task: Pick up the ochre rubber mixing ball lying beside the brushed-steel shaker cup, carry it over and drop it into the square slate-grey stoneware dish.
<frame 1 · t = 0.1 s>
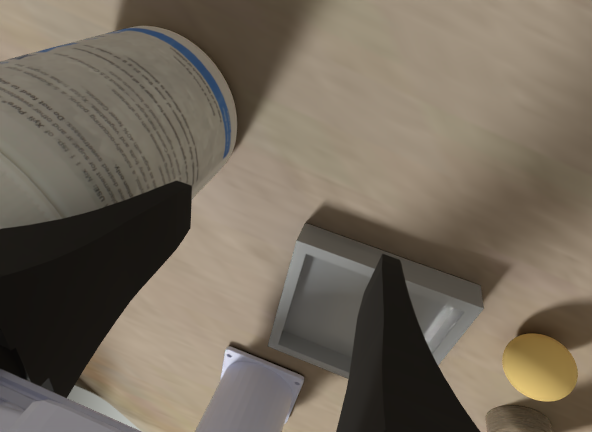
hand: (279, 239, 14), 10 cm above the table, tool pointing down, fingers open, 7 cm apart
ball: (538, 366, 24), point 2 cm above the table
dish: (362, 309, 29), on the table
supplement tub: (174, 107, 24), on the table
shaker cup: (517, 422, 31), on the table
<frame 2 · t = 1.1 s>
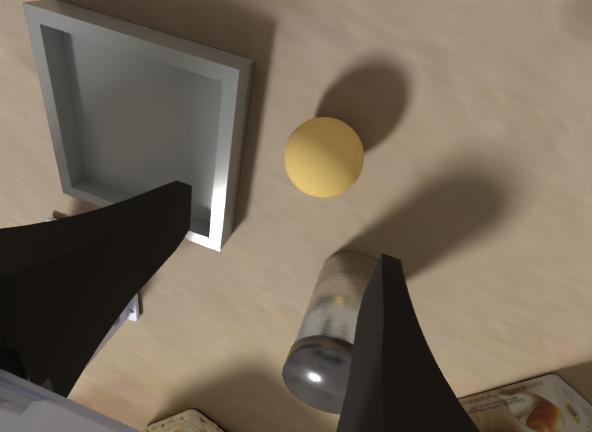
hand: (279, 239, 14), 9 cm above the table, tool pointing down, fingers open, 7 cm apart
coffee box: (518, 408, 28), on the table
ball: (323, 157, 19), point 2 cm above the table
dish: (154, 130, 24), on the table
shaker cup: (354, 278, 26), on the table
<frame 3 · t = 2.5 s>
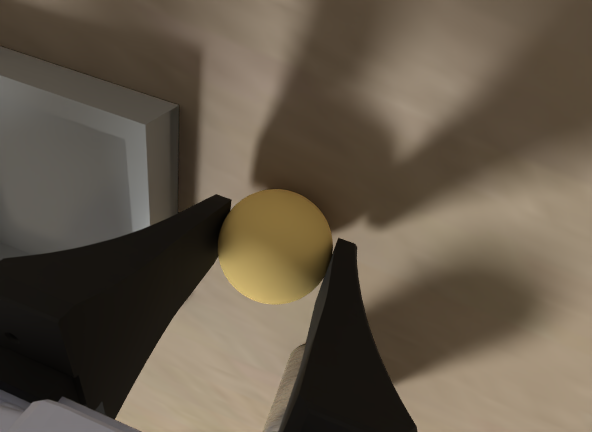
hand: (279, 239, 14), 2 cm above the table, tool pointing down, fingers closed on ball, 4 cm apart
ball: (275, 246, 13), point 2 cm above the table, touching gripper
dish: (63, 187, 18), on the table
shaker cup: (330, 372, 20), on the table
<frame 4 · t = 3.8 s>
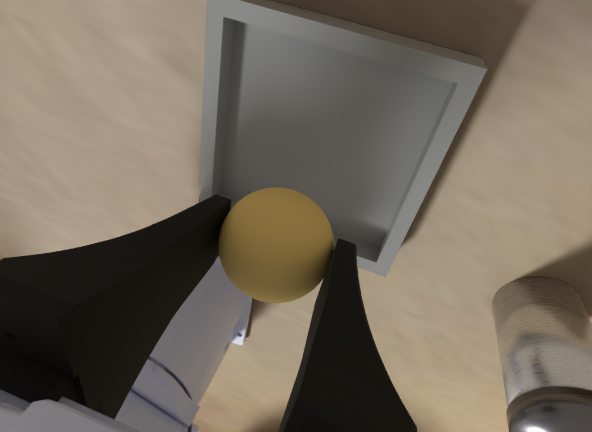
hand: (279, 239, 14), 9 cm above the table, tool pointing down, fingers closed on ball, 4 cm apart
ball: (276, 244, 13), point 9 cm above the table, touching gripper
dish: (319, 140, 21), on the table
shaker cup: (535, 306, 23), on the table
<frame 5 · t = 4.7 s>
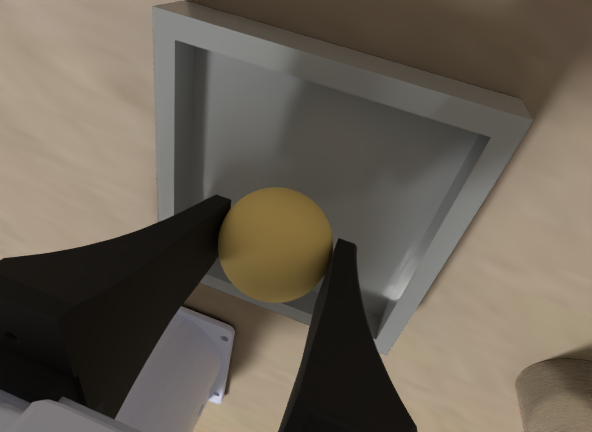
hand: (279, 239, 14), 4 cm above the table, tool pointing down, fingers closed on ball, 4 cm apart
ball: (276, 244, 13), point 4 cm above the table, touching gripper
dish: (306, 190, 17), on the table
shaker cup: (569, 389, 18), on the table
when the fingers open (3 cm above the table, at t = 5.1 s): ball drops 1 cm, resting on dish.
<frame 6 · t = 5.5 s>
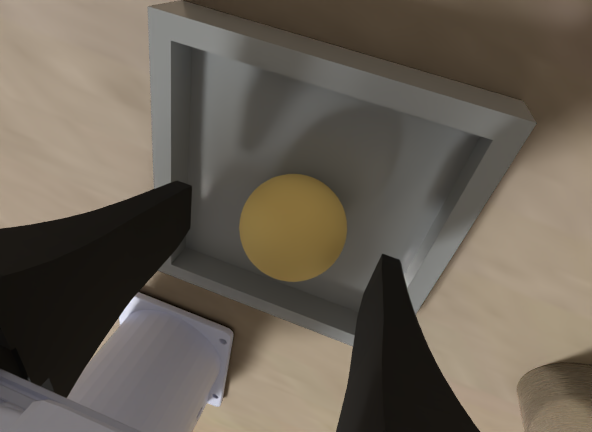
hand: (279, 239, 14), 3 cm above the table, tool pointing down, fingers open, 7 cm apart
ball: (293, 227, 14), point 3 cm above the table, tilted 8°, touching dish
dish: (305, 192, 16), on the table
shaker cup: (571, 394, 18), on the table
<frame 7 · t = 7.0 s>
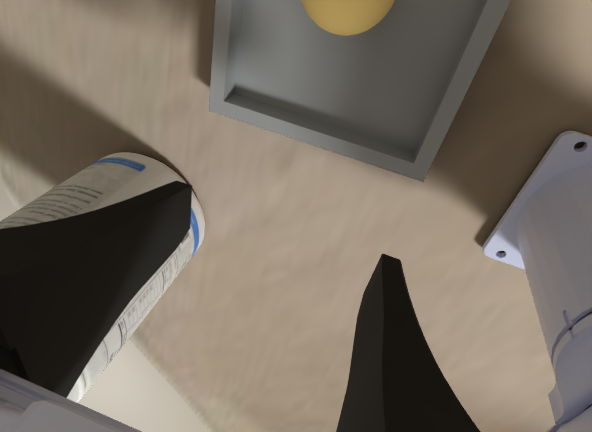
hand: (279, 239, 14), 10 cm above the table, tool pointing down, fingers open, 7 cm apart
dish: (351, 16, 18), on the table
supplement tub: (155, 204, 29), on the table
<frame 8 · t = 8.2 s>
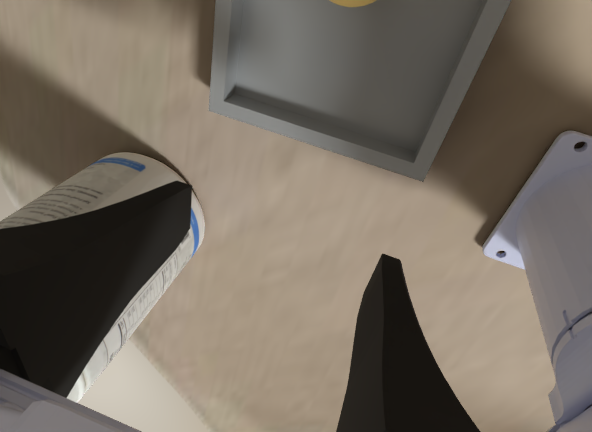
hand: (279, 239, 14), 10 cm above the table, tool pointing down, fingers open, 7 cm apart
dish: (351, 16, 18), on the table
supplement tub: (155, 204, 29), on the table
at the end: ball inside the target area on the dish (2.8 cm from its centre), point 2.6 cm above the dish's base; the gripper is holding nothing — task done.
